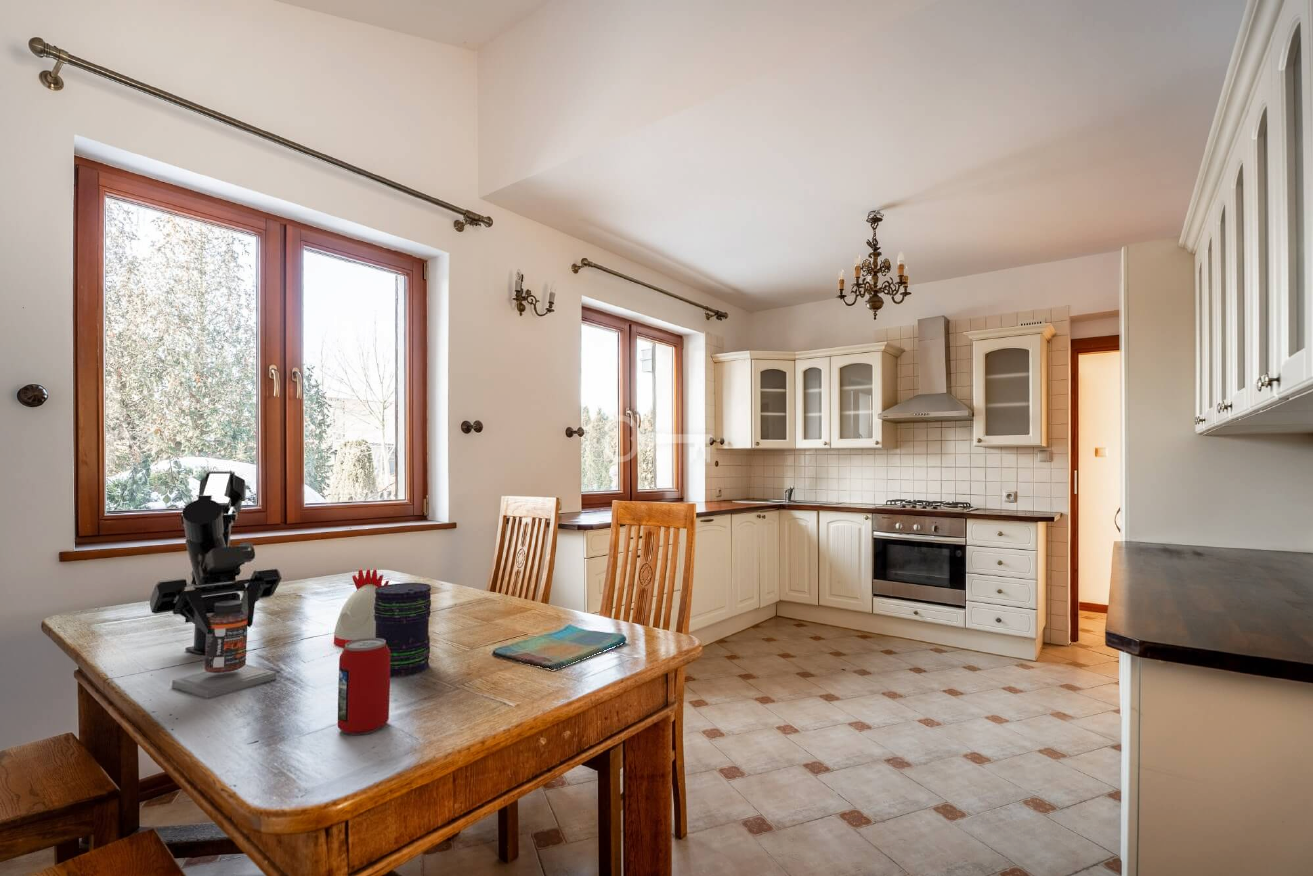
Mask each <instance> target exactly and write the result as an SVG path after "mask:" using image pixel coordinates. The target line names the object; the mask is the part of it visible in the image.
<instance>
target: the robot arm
mask: <svg viewBox="0 0 1313 876" xmlns="http://www.w3.org/2000/svg"><path fill="white" fill-rule="evenodd" d="M246 486H247V485H246V480H245V479H244V478H241V477H240V476H238V475H236V472H235V470H231V469H210V470H207V471H206V474H205V476H204V477H202V479H200V480H199V488H198V489H199V490H198V491H199V492H198V496H197V497H195V498H193V499H192V500H191V502H189V503H188V504H187V505H186V506H184V508H183V509H182V514H181V518H180V519H181V525H182V526H183V527H184V533H185V534H184V535H185V538H186V539H185V545H186V549H187V553H188V556H189V557H188V558H189V560H190V564H191V568H192V571H191V573H190V575H191V577H192V580H191V582H187V579H186V578H177V579H176V578H175V579H165V580H160V581H158V582H157V583H156V584H155V586H154V588H153V590H152V594H151V596H150V599H149V607H150V612H151V613H153V614H163V613H169V612H172V615H181V616H182V617H183V618H184V619H185V620H184V622H185V624H188V623H192V624H194V632H193V633H194V635H193V645H192V646H188V647H185V651H186V652H191V653H195V654H198V655H205V648H206V634H210V632H211V628H210V623H209V620H208V618H209V617H211V616H212V615H213V614H214V612H215V611H214V605H215V603H218V602H222V601H241V602H242V609H241V610H242V612H243V613H245V614H246V615H247V617H248V622H247V624H248V625H247V628H251V627H252V626H253V624H254V622H253V621H254V615H255V607H256V603H257V602H258V601H260V599H266V598H270V597H272V596H273V595H274V594H275V593H276V590H277V588H278V586H279V584H280V582H281V580H282V575H281V573H280V570H278V569H277V568H274V567H273V568H265V569H264V568H263V569H255V570H253V572H252V574H251V577H250V578H247V579H246V578H245V579H239V580H237V578H236V577H237V576H240V575H241V574H240V573H241V571H242V570H241V567H242V565H244V564H246V563H251V562H252V561H253V560H254V559H255V558H256V552H255V548H254V545H253V542H241V543H240V545H230V541H231V532H232V526H234V524H235V523H236V520H237V519H238V517H239V515H238V514H239V513H240V512H241V511H242V503H243V502H246V495H247V493H246V492H247V489H246V488H247V487H246Z"/></svg>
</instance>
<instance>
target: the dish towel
mask: <svg viewBox="0 0 1313 876" xmlns="http://www.w3.org/2000/svg"><path fill="white" fill-rule="evenodd" d="M625 641H626V642H627V637H626V636H625V635H624V633H620V632H619V633H618V632H605V631H599V630H589V629H584V628H581V627H578V626H575V625H573V624H570V623H569V624H567V625H565V626H563V628H561V629H558V630H556V631H554V632H553V631H552V632H547V633H542V634H538V635H535V636H532V637H530V638H527V639H522V640H519V641H515V642H512V643H509V644H506V645H502V646H498V647H495V648H494V649H492V651H491V655H492V656H494V657H493V658H496V657H497V658H496V659H500V658H502V659H501V660H504V659H505V660H504V661H508V660H512V661H515V662H514V663H516V662H521V663H523V664H522V665H524V664H530V665H533V666H540V667H542V668H549V669H551V670H554V669H558V668H561V667H563V666H566V665H568V664H571V663H573V662H576V661H578V660H582V659H584V658H587V657H589V656H592V655H594V654H597V653H599V652H603V651H604V650H607V649H609V648H612V647H614V646H617V645H620V644H621V643H625V644H626V642H625ZM587 659H588V658H587ZM512 661H511V662H512ZM582 661H583V660H582ZM561 669H562V668H561Z"/></svg>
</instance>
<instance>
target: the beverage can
mask: <svg viewBox="0 0 1313 876" xmlns="http://www.w3.org/2000/svg"><path fill="white" fill-rule="evenodd" d="M338 661H339V662H338V684H337V685H338V687H337V691H338V692H337V728H338V730H340V731H342V732H345V734H349V735H365V734H369V733H372V732H375V731H378V730H379V729H380V728H382V727H383V726H384V725H385V724H387V722H388V721H389V719H390V718H389V717H390V693H391V692H390V691H391V678H390V650H389V648H388V646H387V645H386V641H385V640H384V639H381V638H364V639H358V640H353V641H350V642H348V643H346V644H345V647H343V649H342V651H341V653H340V655H339V659H338Z"/></svg>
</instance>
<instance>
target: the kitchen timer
mask: <svg viewBox="0 0 1313 876" xmlns="http://www.w3.org/2000/svg"><path fill="white" fill-rule="evenodd" d="M357 576H358V577H357ZM357 576H356V574H355V575H352V576H351V578H352V581H353V583H354V586H355V588H356V590H355V591H354V592H353V593H352V594H351V595H349V597H348V598H347V600H346V601H345V603H344V604H343V606H342V608H341V610H340V613H339V616H338V618H337V621H336V625H335V628H334V634H333V644H334V645H335V646H337V647H339V648H345V644H346V643H348V642H350V641H353V640H358V639H364V638H375V631H376V621H375V620H374V614H375V610H374V603H375V597H376V594H375V589H376V588H377V587H380V586H384V585H389V583H390V580H386V581H384V584H382V583H383V580H384V579H383V578H384V574H381V575H379V576H378V570H377V569H373V570H372V572H371V569H367V570H366V572H365V576H364V572H363V569H359V570H358V575H357Z"/></svg>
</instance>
